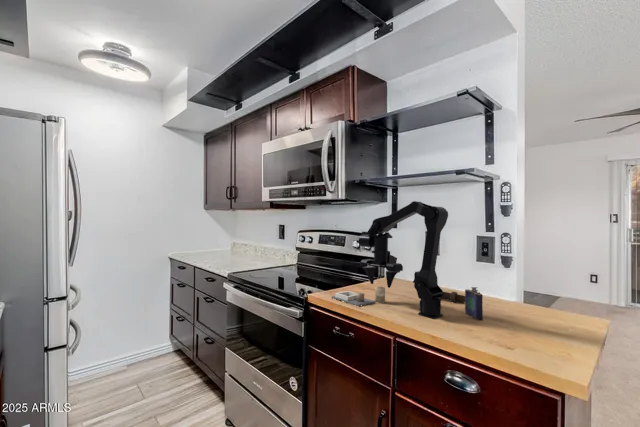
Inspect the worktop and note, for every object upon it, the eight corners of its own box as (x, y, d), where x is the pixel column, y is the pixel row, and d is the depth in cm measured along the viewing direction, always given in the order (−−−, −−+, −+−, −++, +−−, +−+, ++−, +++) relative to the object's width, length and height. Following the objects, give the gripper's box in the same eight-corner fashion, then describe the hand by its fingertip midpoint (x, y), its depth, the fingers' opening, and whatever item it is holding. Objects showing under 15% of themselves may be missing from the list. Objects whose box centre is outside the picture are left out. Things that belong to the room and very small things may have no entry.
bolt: (464, 308, 130) (428, 301, 139) (467, 301, 133) (432, 294, 143) (462, 298, 127) (426, 291, 137) (465, 290, 131) (430, 284, 140)
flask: (463, 312, 117) (463, 284, 117) (471, 312, 117) (471, 284, 117) (477, 320, 108) (477, 289, 108) (485, 320, 108) (486, 289, 108)
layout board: (375, 303, 128) (375, 293, 128) (357, 306, 122) (358, 297, 122) (348, 295, 141) (348, 286, 141) (331, 298, 135) (331, 289, 135)
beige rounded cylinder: (386, 302, 130) (387, 288, 130) (380, 303, 127) (380, 289, 128) (379, 300, 133) (379, 286, 133) (373, 301, 130) (373, 287, 131)
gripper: (411, 249, 128) (410, 287, 128) (376, 246, 143) (376, 280, 143) (394, 250, 122) (393, 290, 121) (359, 247, 136) (359, 282, 136)
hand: (380, 285), depth 130 cm, fingers open, 9 cm apart
